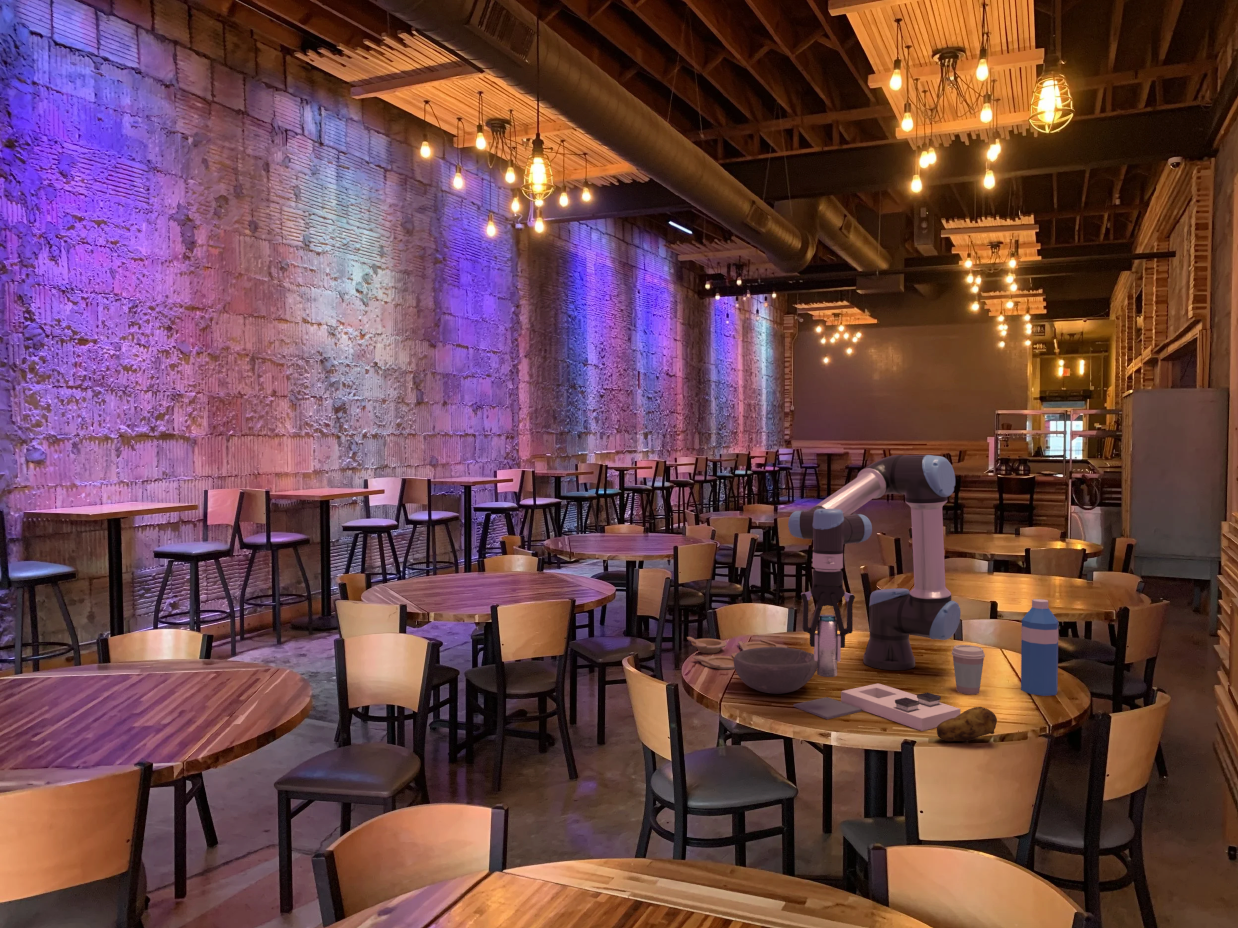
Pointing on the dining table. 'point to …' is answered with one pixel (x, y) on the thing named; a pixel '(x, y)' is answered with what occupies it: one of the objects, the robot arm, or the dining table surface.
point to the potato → (968, 725)
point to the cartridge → (827, 646)
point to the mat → (827, 708)
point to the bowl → (775, 668)
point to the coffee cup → (968, 668)
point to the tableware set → (716, 645)
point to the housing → (883, 704)
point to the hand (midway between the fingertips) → (827, 659)
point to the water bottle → (1039, 650)
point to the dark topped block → (928, 699)
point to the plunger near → (907, 704)
